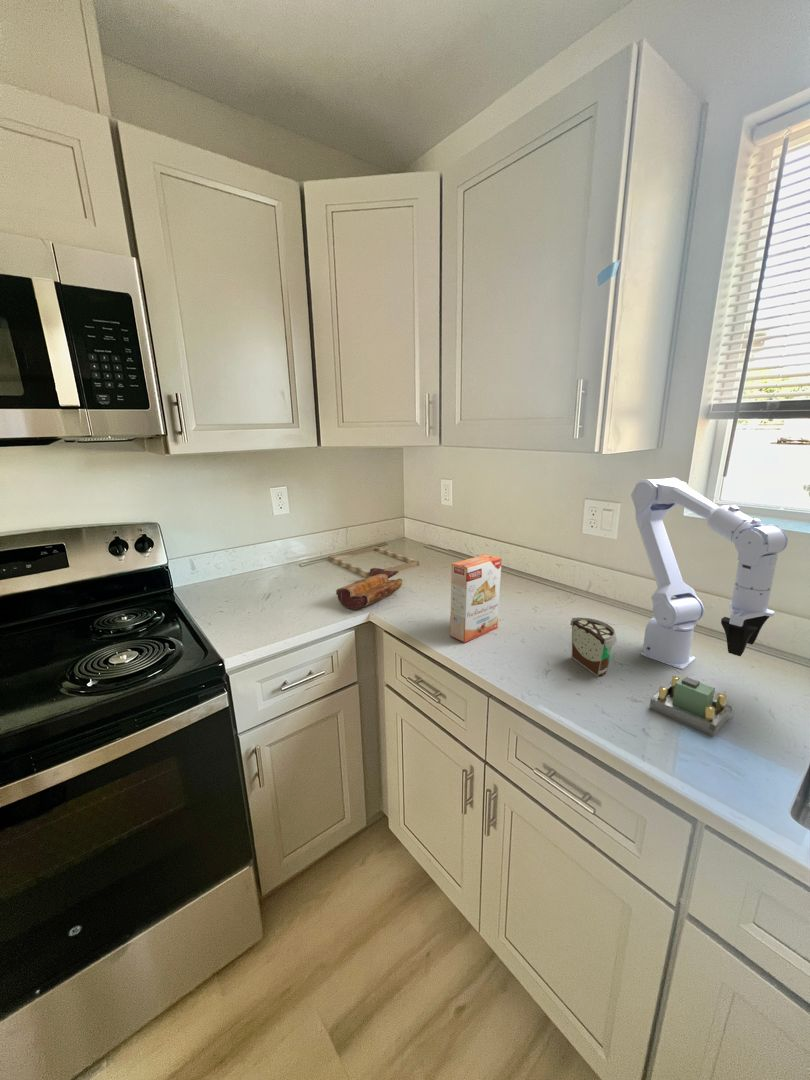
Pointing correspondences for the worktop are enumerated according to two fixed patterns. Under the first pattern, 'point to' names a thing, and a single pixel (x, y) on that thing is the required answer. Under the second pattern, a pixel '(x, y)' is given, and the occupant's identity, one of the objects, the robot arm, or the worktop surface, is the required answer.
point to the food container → (592, 644)
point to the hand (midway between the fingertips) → (740, 648)
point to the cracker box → (475, 597)
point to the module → (692, 696)
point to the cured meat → (369, 589)
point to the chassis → (708, 725)
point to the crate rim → (363, 572)
